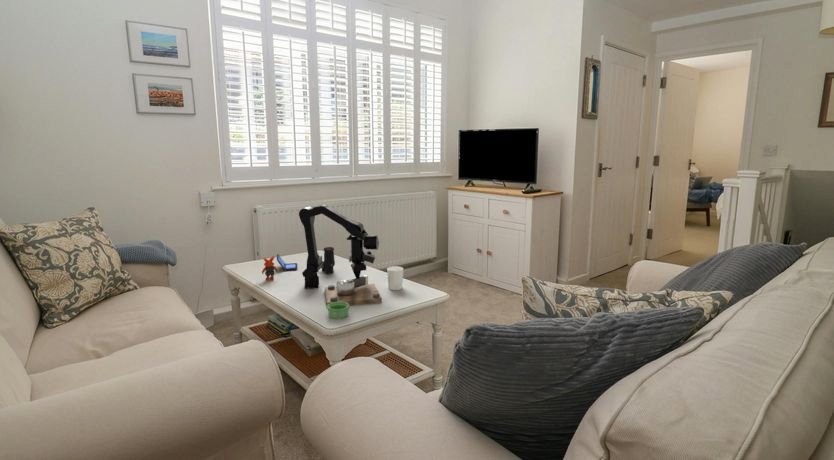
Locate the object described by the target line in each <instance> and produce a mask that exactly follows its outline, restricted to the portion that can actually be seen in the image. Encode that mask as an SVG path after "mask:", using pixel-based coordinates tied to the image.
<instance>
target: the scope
mask: <svg viewBox="0 0 834 460" xmlns="http://www.w3.org/2000/svg"><path fill="white" fill-rule="evenodd" d="M334 250H335V248H334V247H332V246H326V247H324V248H323V251H324V252H323V260H322V261H323V264H322V267H321V272H324V273H326V274H327V275H332V274H334V266H335V265H336V262H335V260H336V259H335V252H334Z"/></svg>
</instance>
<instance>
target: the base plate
mask: <svg viewBox="0 0 834 460" xmlns="http://www.w3.org/2000/svg"><path fill="white" fill-rule="evenodd" d="M324 294H325V295H324V296H325V300H326V306H328V304H330V303H333V302H346V303H348V304H349V306H356V305H357V306H358V305H368V304H370V305H371V304H381V303H382V301H383V300H382V297H381V294H380V292H379V290H378V288H377V287H376V285H375V283H368V284H367V285H363V286H360V287H357V288H354V294H352V295H346V296H343V295H338V294H337V286H335V285H333V284H332V285H331V284H330V285H328V286H325V287H324Z"/></svg>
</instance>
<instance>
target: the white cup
mask: <svg viewBox="0 0 834 460" xmlns="http://www.w3.org/2000/svg"><path fill="white" fill-rule="evenodd" d="M386 271H387V273H386V275H387V284H388V285H387V286H388V289H389V290H391V291H400V290H402V288H403V281H404V267H402V266H396V265H395V266H394V265H393V266H388V267H387V268H386Z"/></svg>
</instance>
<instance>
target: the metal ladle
mask: <svg viewBox="0 0 834 460" xmlns="http://www.w3.org/2000/svg"><path fill="white" fill-rule="evenodd" d="M367 284H369V275H365V274H364V275H361V276H360V277H358V278H356V277H355V278H352V279H340V280H337V281H336V287H337V294H338V295H343V296H346V295H352V294H354V288H357V287H360V286H363V285H367Z"/></svg>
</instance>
